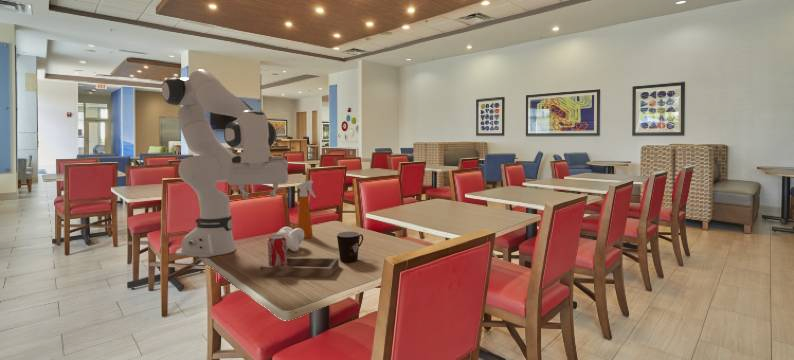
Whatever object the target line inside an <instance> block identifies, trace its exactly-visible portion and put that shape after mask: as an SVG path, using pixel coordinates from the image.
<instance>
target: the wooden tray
mask: <svg viewBox="0 0 794 360" xmlns="http://www.w3.org/2000/svg"><path fill="white" fill-rule="evenodd" d="M339 261H340V257H339V258H338V257H334V258H333V257H300V256H299V257H294V256H293V257H290V256H287V266H269V265H261V266H260V267H259V269H260V276H262V277H265V276H267V277H268V276H269V277H303V278H305V277H307V278H308V277H309V278H311V277H312V278H332V277H333V276H334V274H335V273H336V271H337V270H338V268H339V265H340V264H339Z"/></svg>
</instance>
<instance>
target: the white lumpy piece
mask: <svg viewBox="0 0 794 360" xmlns="http://www.w3.org/2000/svg"><path fill="white" fill-rule="evenodd" d="M276 235H284V236H285V238H286V240H287V250H288V249H289V250H290V251H292V252H298V251H299V250H300V244H302V242H303V241H304V239H305V238H304V231H303V230H302V229H301V228H298V227H297V228H294V229H293V228H292V227H290V226H284V227H282V228H280V229H279V231H277V232H276Z"/></svg>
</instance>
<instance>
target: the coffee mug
mask: <svg viewBox="0 0 794 360" xmlns="http://www.w3.org/2000/svg"><path fill="white" fill-rule="evenodd" d="M360 237H361V238H360ZM336 238H337V246H338V254H339V255H338V256H339V261H340V262H341V263H344V264H351V263H355V262H357V261H359V259H358V257H359V249H360V246H362V244H363V240H364V235H363V234H362V233H360V232H359V231H353V230H352V231H350V230H349V231H341V232H338V233H336ZM360 239H361V241H360Z"/></svg>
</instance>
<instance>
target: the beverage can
mask: <svg viewBox="0 0 794 360" xmlns="http://www.w3.org/2000/svg"><path fill="white" fill-rule="evenodd" d="M267 250H268V251H267V252H268V253H267V254H268V266H287V257H288V249H287V240H286V238H285V236H284V235H277V234H273V235H270V236H269V239H268V240H267Z"/></svg>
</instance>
